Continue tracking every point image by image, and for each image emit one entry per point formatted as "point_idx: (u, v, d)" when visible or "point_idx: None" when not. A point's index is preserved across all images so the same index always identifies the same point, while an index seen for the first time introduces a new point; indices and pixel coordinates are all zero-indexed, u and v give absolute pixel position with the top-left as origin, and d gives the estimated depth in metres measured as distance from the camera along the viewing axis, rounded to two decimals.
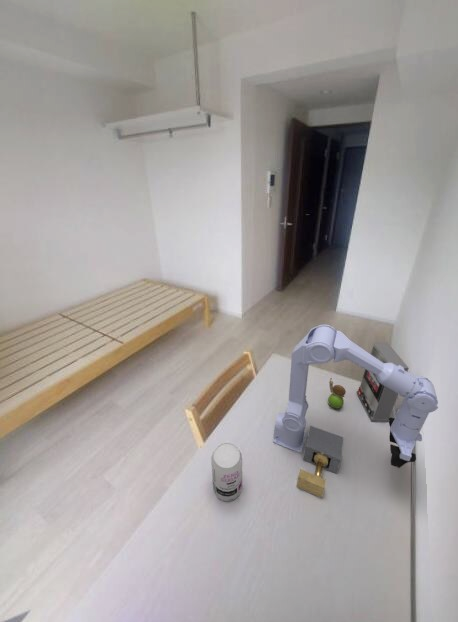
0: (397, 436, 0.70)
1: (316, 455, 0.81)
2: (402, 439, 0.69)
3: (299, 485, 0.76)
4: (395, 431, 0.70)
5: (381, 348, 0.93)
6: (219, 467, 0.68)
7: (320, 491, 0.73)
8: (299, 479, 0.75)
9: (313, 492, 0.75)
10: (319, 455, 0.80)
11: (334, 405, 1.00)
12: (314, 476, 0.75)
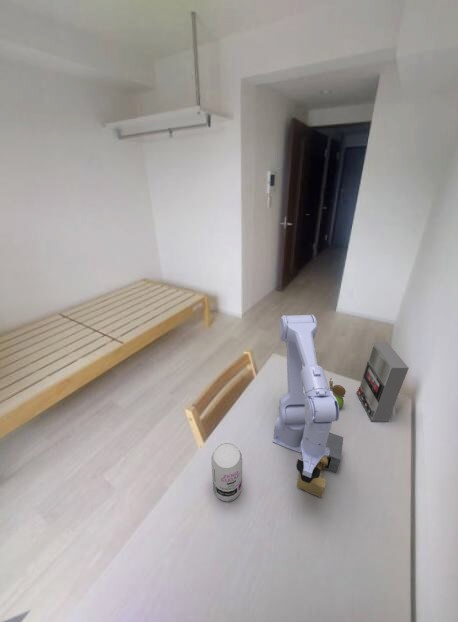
0: (304, 451, 0.67)
1: None
2: (308, 454, 0.67)
3: (299, 485, 0.76)
4: (303, 446, 0.68)
5: (381, 348, 0.93)
6: (219, 467, 0.68)
7: (320, 491, 0.73)
8: (299, 479, 0.75)
9: (313, 492, 0.75)
10: None
11: None
12: None
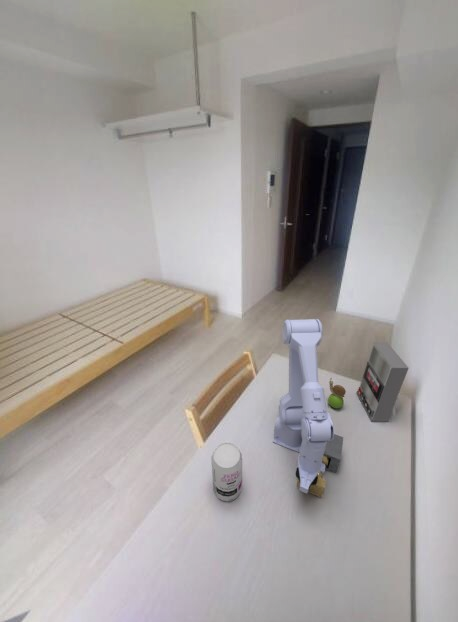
0: (301, 467, 0.71)
1: None
2: (305, 470, 0.70)
3: (299, 485, 0.76)
4: (300, 462, 0.71)
5: (381, 348, 0.93)
6: (219, 467, 0.68)
7: (320, 491, 0.73)
8: None
9: (313, 492, 0.75)
10: None
11: (334, 405, 1.00)
12: None
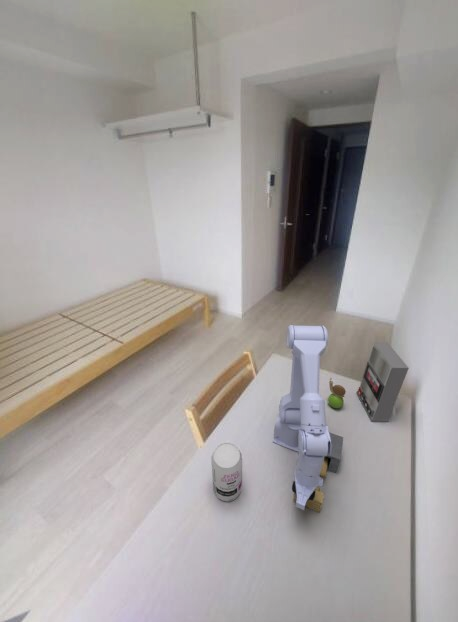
0: (297, 481, 0.67)
1: None
2: (301, 485, 0.67)
3: (296, 499, 0.73)
4: (296, 476, 0.68)
5: (381, 348, 0.93)
6: (219, 467, 0.68)
7: (317, 505, 0.70)
8: None
9: (310, 506, 0.72)
10: None
11: (334, 405, 1.00)
12: None
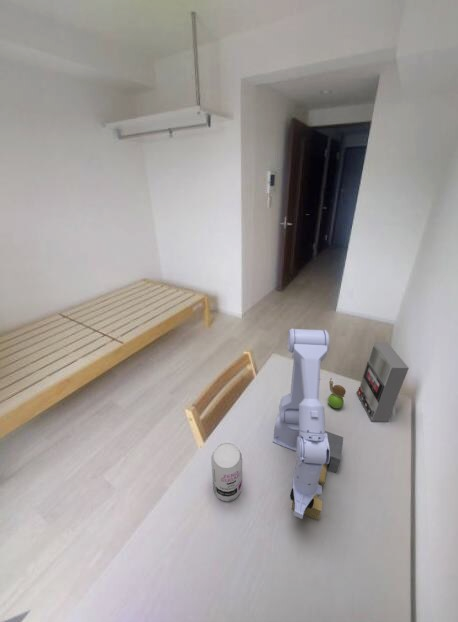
0: (296, 489, 0.66)
1: None
2: (300, 493, 0.65)
3: (294, 506, 0.72)
4: (294, 483, 0.66)
5: (381, 348, 0.93)
6: (219, 467, 0.68)
7: (316, 513, 0.69)
8: None
9: (309, 514, 0.70)
10: None
11: (334, 405, 1.00)
12: None
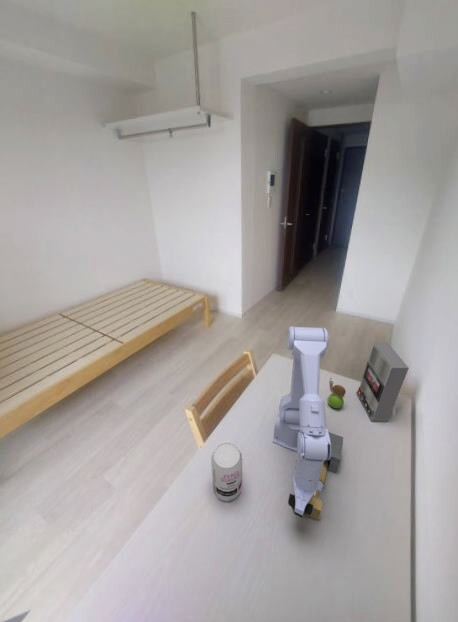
0: (296, 485, 0.65)
1: None
2: (300, 489, 0.64)
3: None
4: (295, 480, 0.66)
5: (381, 348, 0.93)
6: (219, 467, 0.68)
7: (316, 513, 0.69)
8: None
9: None
10: None
11: (334, 405, 1.00)
12: None
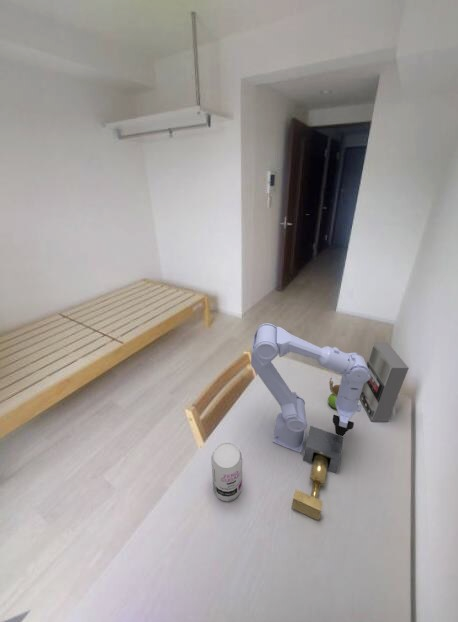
0: (339, 407, 0.78)
1: (312, 473, 0.76)
2: (343, 409, 0.77)
3: (294, 506, 0.72)
4: (337, 403, 0.79)
5: (381, 348, 0.93)
6: (219, 467, 0.68)
7: (316, 513, 0.69)
8: (294, 501, 0.70)
9: (309, 514, 0.70)
10: (316, 473, 0.75)
11: (334, 405, 1.00)
12: (310, 497, 0.70)
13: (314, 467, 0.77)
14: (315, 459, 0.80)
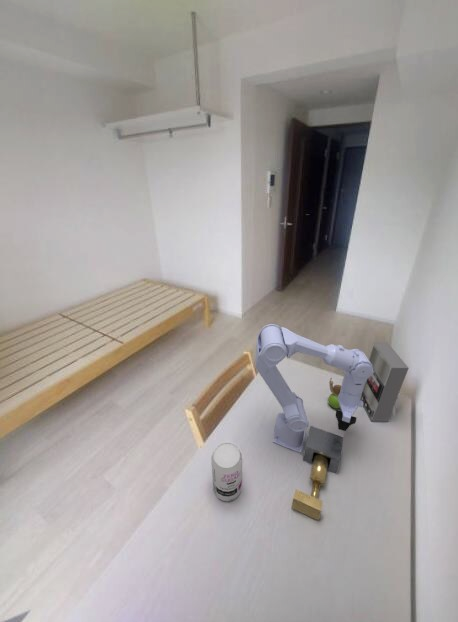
0: (342, 403, 0.80)
1: (312, 473, 0.76)
2: (345, 405, 0.79)
3: (294, 506, 0.72)
4: (340, 398, 0.80)
5: (381, 348, 0.93)
6: (219, 467, 0.68)
7: (316, 513, 0.69)
8: (294, 501, 0.70)
9: (309, 514, 0.70)
10: (316, 473, 0.75)
11: (334, 405, 1.00)
12: (310, 497, 0.70)
13: (314, 467, 0.77)
14: (315, 459, 0.80)
